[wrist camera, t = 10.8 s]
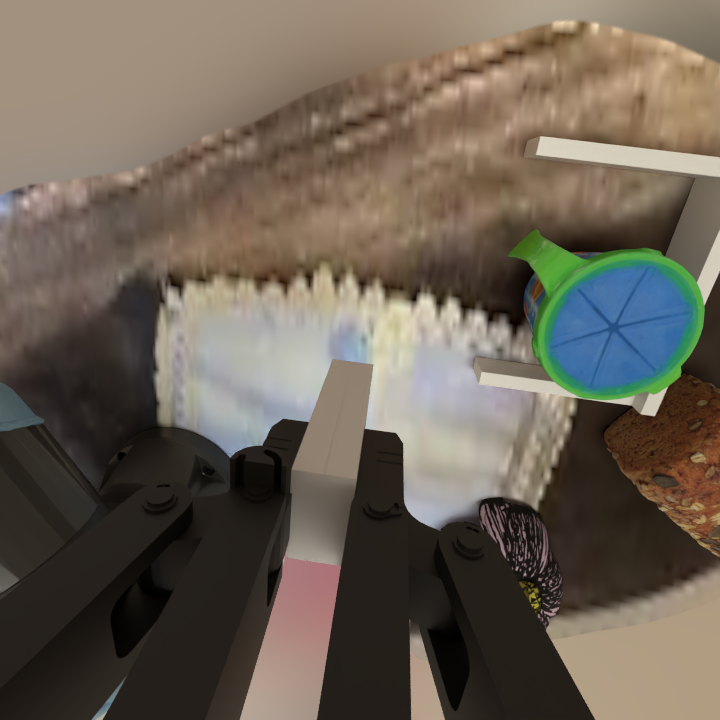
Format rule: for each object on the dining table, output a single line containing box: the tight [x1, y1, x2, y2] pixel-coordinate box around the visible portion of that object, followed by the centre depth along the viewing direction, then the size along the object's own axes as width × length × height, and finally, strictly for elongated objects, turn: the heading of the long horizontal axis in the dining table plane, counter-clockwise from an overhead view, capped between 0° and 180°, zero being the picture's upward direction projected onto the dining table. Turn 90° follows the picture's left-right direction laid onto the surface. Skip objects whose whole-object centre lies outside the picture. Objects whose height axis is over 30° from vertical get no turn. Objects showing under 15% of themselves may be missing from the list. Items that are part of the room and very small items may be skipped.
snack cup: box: [508, 229, 705, 400], centre depth 33 cm, size 16×10×10 cm
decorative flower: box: [464, 498, 563, 630], centre depth 45 cm, size 15×12×15 cm
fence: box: [473, 136, 720, 416], centre depth 35 cm, size 15×20×5 cm
